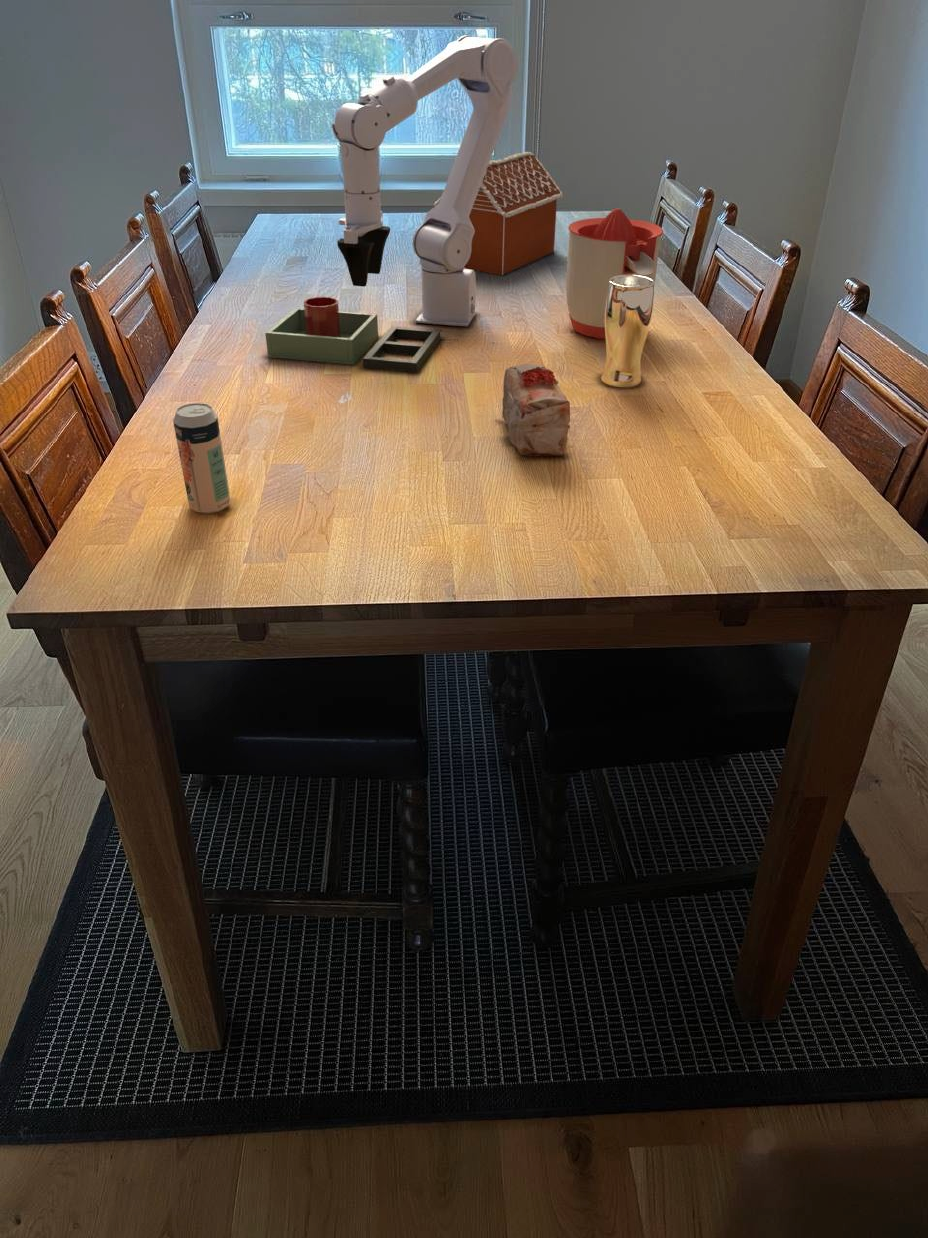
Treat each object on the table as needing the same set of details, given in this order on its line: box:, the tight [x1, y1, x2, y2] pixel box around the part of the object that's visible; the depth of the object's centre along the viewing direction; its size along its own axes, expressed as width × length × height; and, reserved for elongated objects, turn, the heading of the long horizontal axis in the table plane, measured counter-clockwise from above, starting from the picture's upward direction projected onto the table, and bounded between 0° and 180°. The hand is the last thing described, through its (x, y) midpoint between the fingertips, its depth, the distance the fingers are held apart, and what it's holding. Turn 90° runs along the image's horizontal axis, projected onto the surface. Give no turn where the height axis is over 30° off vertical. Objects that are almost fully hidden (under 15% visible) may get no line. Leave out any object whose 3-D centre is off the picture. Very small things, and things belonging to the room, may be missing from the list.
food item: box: [501, 363, 571, 457], centre depth 120 cm, size 14×8×10 cm, turn 10°
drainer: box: [362, 325, 442, 373], centre depth 150 cm, size 9×16×2 cm, turn 168°
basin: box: [264, 307, 379, 366], centre depth 151 cm, size 15×14×4 cm
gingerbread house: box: [433, 151, 564, 276], centre depth 194 cm, size 18×26×20 cm
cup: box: [303, 296, 341, 337], centre depth 150 cm, size 6×6×7 cm
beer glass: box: [600, 275, 656, 388], centre depth 137 cm, size 7×7×15 cm
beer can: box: [172, 402, 232, 515], centre depth 104 cm, size 5×5×12 cm
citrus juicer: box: [565, 207, 664, 341], centre depth 155 cm, size 16×17×20 cm
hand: (366, 279), depth 152 cm, fingers open, 7 cm apart
